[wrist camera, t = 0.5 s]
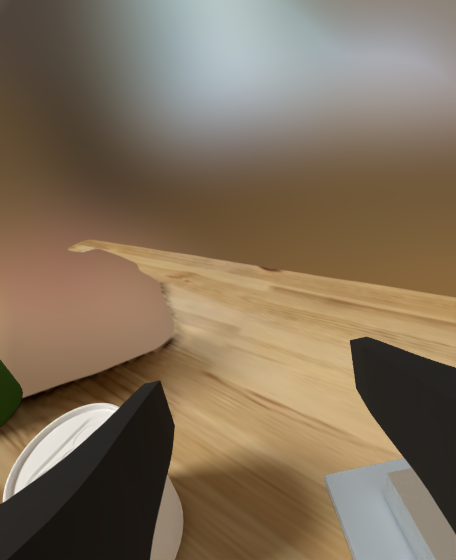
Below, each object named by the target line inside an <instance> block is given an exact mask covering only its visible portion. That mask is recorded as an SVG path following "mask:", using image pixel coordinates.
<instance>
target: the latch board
mask: <svg viewBox="0 0 456 560" xmlns="http://www.w3.org/2000/svg"><path fill="white" fill-rule="evenodd" d="M408 468H412V467H411V466H410V465H409V464H408V462H407V461H406V460H405V458H403V459H398V460H394V461H389V462H384V463H380V464H375V465H370V466H365V467H361V468H356V469H351V470H347V471H342V472H337V473H333V474H328V475H325V477H324V482H325V484H326V487H327V490H328V492H329V495H330V498H331V500H332V503H333V506H334V508H335V511H336V514H337V516H338V519H339V522H340V524H341V527H342V530H343V532H344V535H345V538H346V541H347V543H348V546H349V549H350V551H351V554H352V557H353V559H354V560H418V559H417V557H416V555H415V554H414V552H413V550H412V548H411V546H410V544H409V542H408V540H407V538H406V536H405V534H404V532H403V530H402V529H401V527H400V525H399V523H398V521H397V519H396V517H395V515H394V513H393V511H392V509H391V507H390V505H389V504H388V502H387V500H386V498H385V496H384V494H383V492H382V491H383V487H384V483H385V479H386V475H387V473H389V472H394V471H399V470H403V469H408Z"/></svg>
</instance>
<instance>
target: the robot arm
mask: <svg viewBox="0 0 456 560" xmlns="http://www.w3.org/2000/svg"><path fill="white" fill-rule="evenodd" d="M350 345H351V353H352V360H353V368H354V375H355V383H356V389H357V391H358V392H359V394H360V396H361V398H362V399H363V401H364V403H365V405H366V406H367V408H368V410H369V411H370V413H371V414H372V416H373V417H374V419H375V420H376V421H377V423H378V424H379V425H380V427H381V428H382V429H383V431H384V432H385V433H386V435H387V436H388V437H389V438H390V440H391V441H392V442H393V444H394V445H395V446H396V448H397V449H398V450H399V452H400V453H401V454H402V456H403V457H404V458H405V460H406V461H407V462H408V464H409V465H410V466H411V467H412V469H413V470H414V471H415V473H416V474H417V476H418V477H419V478H420V480H421V481H422V483H423V484H424V485H425V487H426V488H427V490H428V491H429V493H430V495H431V496H432V498H433V499H434V501H435V502H436V504H437V506H438V507H439V509H440V510H441V512H442V514H443V515H444V517H445V518H446V520H447V521H448V523H449V525H450V526H451V528H452V529H453V531H454V533H455V534H456V368H455V367H452V366H448V365H445V364H442V363H439V362H436V361H433V360H430V359H427V358H424V357H421V356H419V355H416V354H413V353H410V352H408V351H405V350H402V349H400V348H397V347H394V346H392V345H389V344H386V343H384V342H381V341H378V340H375V339H372V338H369V337H363V338H358V339H354V340H350ZM174 428H175V425H174V422H173V419H172V416H171V412H170V409H169V406H168V403H167V400H166V397H165V394H164V391H163V388H162V385H161V381H155V382H151V383H146V384H144V385H143V386H141V387H140V388H139V389H138V390H137V391H136V392H135V393H134V394H133V395H132V396H131V397H130V398H129V399H128V400H127V401H126V402H125V403H124V404H123V405H122V406H121V407H120V408H119V409H118V410H117V411H115V412H114V413H113V414H112V415H111V416H110V417H109V418H108V419H107V420H106V421H105V422H104V423H103V424H102V425H101V426H100V427H99V428H98V429H97V430H95V431H94V432H93V433H92V434H91V435H90V436H89V437H88V438H87V439H86V440H85V441H83V442H82V443H81V444H80V445H79V446H78V447H77V448H76V449H74V450H73V451H72V452H71V453H70V454H68V455H67V456H66V457H65V458H63V459H62V460H61V461H60V462H58V463H57V464H56V465H55V466H53V467H52V468H51V469H50V470H48V471H47V472H46V473H44V474H43V475H42V476H40V477H39V478H37V479H36V480H35V481H33V482H32V483H30V484H29V485H27V486H26V487H25V488H23V489H22V490H20V491H19V492H18V493H16V494H15V495H13V496H12V497H11V498H9V499H8V500H6V501H5V502H3V503H2V504H0V560H150V556H151V549H152V542H153V536H154V531H155V526H156V521H157V517H158V513H159V508H160V504H161V500H162V495H163V491H164V487H165V482H166V478H167V474H168V469H169V465H170V460H171V455H172V449H173V440H174Z"/></svg>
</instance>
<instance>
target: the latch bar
mask: <svg viewBox="0 0 456 560" xmlns="http://www.w3.org/2000/svg"><path fill="white" fill-rule="evenodd" d="M382 492H383V494H384V496H385V498H386V500H387V502H388V504H389V505H390V507H391V509H392V511H393V513H394V515H395V517H396V519H397V521H398V523H399V525H400V527H401V529H402V530H403V532H404V534H405V536H406V538H407V540H408V542H409V544H410V546H411V548H412V550H413V552H414V554H415V555H416V557H417V559H418V560H456V534H455V533H454V531H453V529H452V528H451V526H450V525H449V523H448V521H447V520H446V518H445V517H444V515H443V514H442V512H441V510H440V509H439V507H438V506H437V504H436V502H435V501H434V499H433V498H432V496H431V495H430V493H429V491H428V490H427V488H426V487H425V485H424V484H423V483H422V481H421V480H420V478H419V477H418V476H417V474H416V473H415V471H414V470H413V469H412V468H408V469H403V470H399V471H394V472H389V473H387V475H386V479H385V483H384V487H383V491H382Z"/></svg>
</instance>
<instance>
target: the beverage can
mask: <svg viewBox="0 0 456 560" xmlns="http://www.w3.org/2000/svg"><path fill="white" fill-rule="evenodd" d="M119 408H120V407H118V406H116V405H113V404H108V403H94V404H88V405H85V406H81V407H79V408H76V409H74V410H72V411H70V412H68V413H66V414H64V415H62V416H61V417H59V418H57V419H56V420H54V421H53V422H52V423H50V424H49V425H48V426H47V427H45V428H44V429H43V430H42V431H41V432H40V433H39V434H38V435H37V436H36V437H35V438H34V439H33V440H32V441H31V442H30V443H29V444H28V445H27V447H26V448H25V449H24V450H23V452H22V453H21V455H20V456H19V457H18V459H17V461H16V462H15V464H14V466H13V468H12V470H11V472H10V474H9V476H8V479H7V482H6V485H5V489H4V494H3V502H5V501H6V500H8V499H9V498H11V497H12V496H13V495H15V494H16V493H18V492H19V491H20V490H22V489H23V488H25V487H26V486H27V485H29V484H30V483H32V482H33V481H35V480H36V479H37V478H39V477H40V476H42V475H43V474H44V473H46V472H47V471H48V470H50V469H51V468H52V467H53V466H55V465H56V464H57V463H58V462H60V461H61V460H62V459H63V458H65V457H66V456H67V455H68V454H70V453H71V452H72V451H73V450H74V449H76V448H77V447H78V446H79V445H80V444H81V443H82V442H83V441H85V440H86V439H87V438H88V437H89V436H90V435H91V434H92V433H93V432H94V431H95V430H97V429H98V428H99V427H100V426H101V425H102V424H103V423H104V422H105V421H106V420H107V419H108V418H109V417H110V416H111V415H112V414H113V413H114V412H115V411H117V410H118V409H119ZM182 533H183V510H182V505H181V502H180V499H179V496H178V494H177V492H176V490H175V488H174V486H173V484H172V482H171V480H170V478H169V476H168V475H167V478H166V482H165V487H164V491H163V495H162V500H161V504H160V508H159V513H158V517H157V521H156V526H155V531H154V536H153V542H152V549H151V556H150V560H175V558H176V555H177V553H178V550H179V546H180V543H181V538H182Z"/></svg>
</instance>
